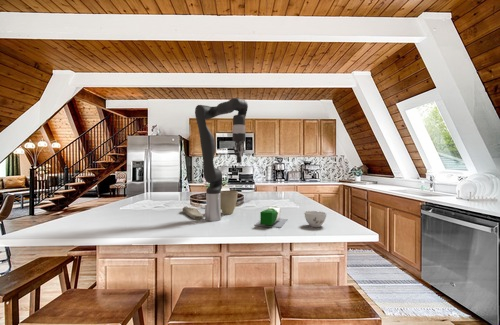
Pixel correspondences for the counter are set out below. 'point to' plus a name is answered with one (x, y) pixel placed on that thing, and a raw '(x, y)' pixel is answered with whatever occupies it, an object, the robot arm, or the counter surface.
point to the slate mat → (276, 224)
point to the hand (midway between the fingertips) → (238, 162)
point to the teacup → (315, 218)
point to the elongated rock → (193, 213)
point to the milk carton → (270, 216)
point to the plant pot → (228, 201)
